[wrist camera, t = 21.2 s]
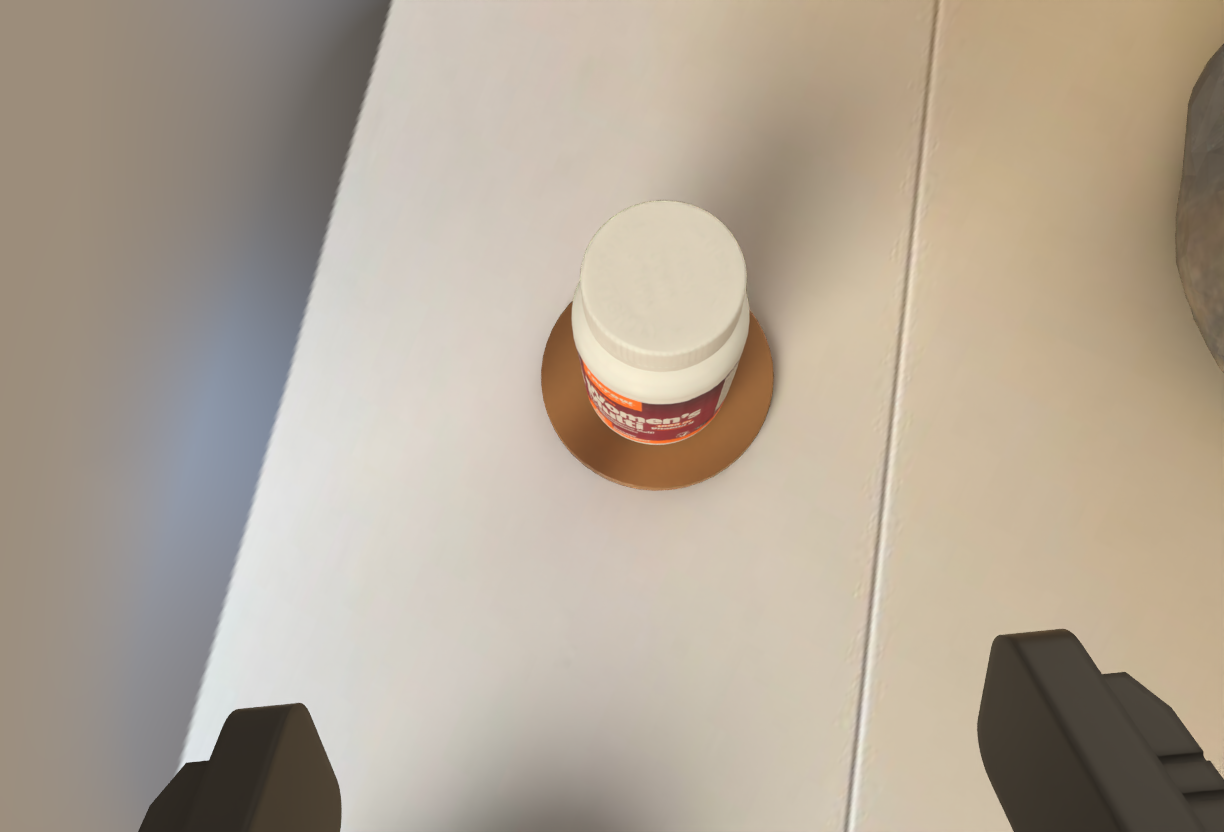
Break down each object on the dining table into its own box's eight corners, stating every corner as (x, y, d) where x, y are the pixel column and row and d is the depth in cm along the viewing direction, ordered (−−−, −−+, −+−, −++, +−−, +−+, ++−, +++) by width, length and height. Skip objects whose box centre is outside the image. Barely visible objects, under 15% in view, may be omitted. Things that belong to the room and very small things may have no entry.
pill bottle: (575, 437, 37) (546, 360, 26) (596, 302, 39) (576, 173, 28) (721, 456, 37) (752, 385, 26) (736, 318, 38) (772, 194, 27)
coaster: (504, 434, 38) (501, 431, 37) (600, 237, 40) (599, 232, 39) (717, 529, 37) (719, 527, 36) (806, 321, 39) (808, 316, 38)
